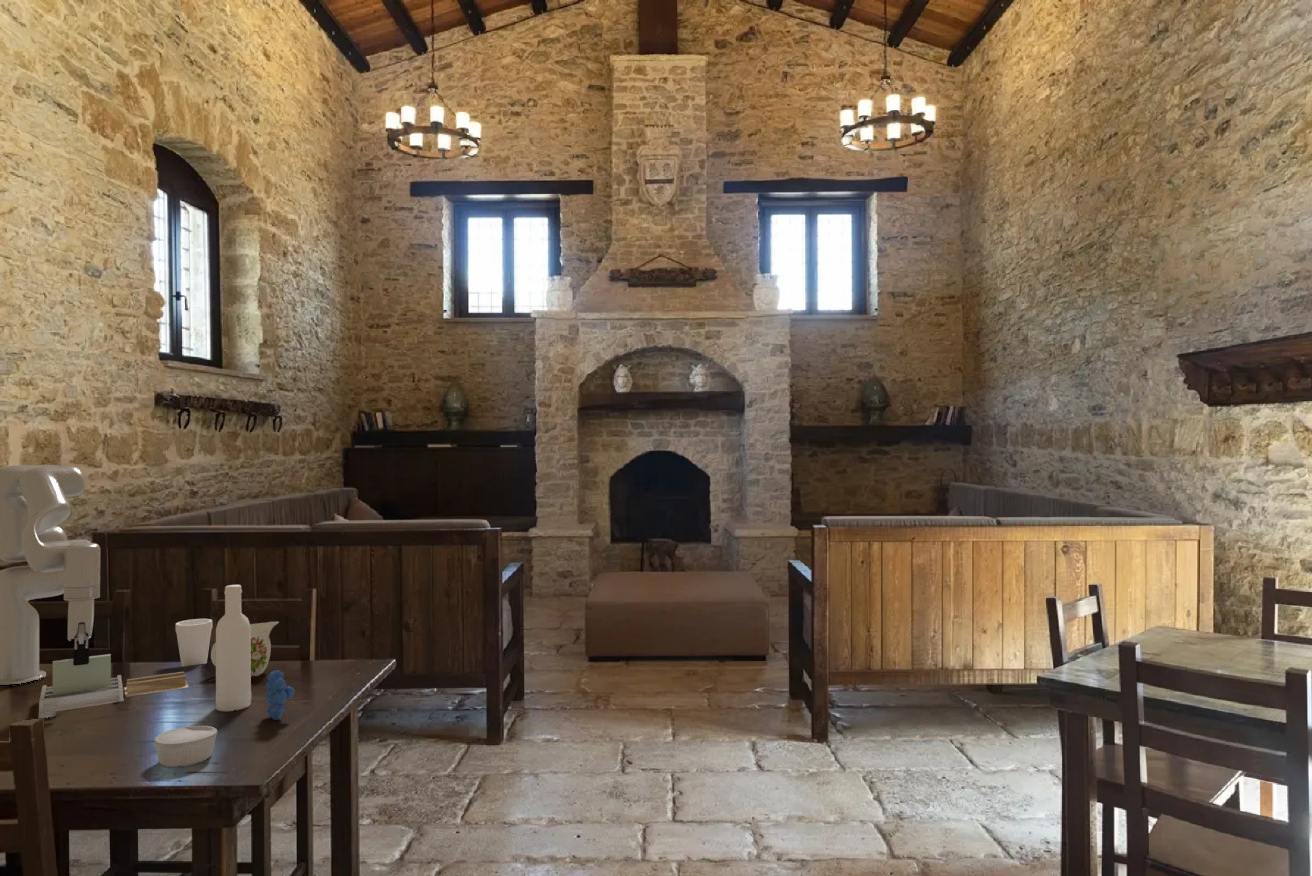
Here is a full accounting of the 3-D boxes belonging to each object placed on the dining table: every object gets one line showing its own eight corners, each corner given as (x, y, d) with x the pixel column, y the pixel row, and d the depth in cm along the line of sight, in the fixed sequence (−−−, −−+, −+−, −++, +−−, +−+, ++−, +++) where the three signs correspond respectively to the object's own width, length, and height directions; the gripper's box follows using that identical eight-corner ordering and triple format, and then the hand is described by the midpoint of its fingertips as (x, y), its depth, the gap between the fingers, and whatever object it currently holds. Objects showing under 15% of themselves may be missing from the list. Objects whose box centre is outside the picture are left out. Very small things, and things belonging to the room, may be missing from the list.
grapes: (301, 722, 193) (301, 671, 193) (269, 728, 189) (269, 676, 189) (290, 709, 202) (290, 660, 202) (260, 715, 198) (259, 665, 198)
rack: (42, 701, 211) (42, 685, 211) (121, 689, 220) (121, 674, 221) (38, 720, 196) (38, 703, 196) (123, 706, 206) (123, 690, 206)
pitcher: (205, 677, 231) (204, 628, 232) (271, 665, 244) (271, 618, 244) (217, 685, 224) (217, 634, 224) (285, 672, 236) (285, 624, 236)
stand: (124, 692, 217) (124, 677, 217) (185, 684, 225) (185, 669, 225) (125, 702, 209) (125, 686, 209) (188, 692, 217) (188, 677, 217)
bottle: (236, 712, 200) (235, 588, 201) (207, 710, 202) (207, 588, 202) (258, 702, 208) (257, 583, 209) (231, 700, 210) (230, 582, 210)
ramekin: (227, 749, 176) (227, 724, 176) (199, 769, 165) (199, 743, 165) (173, 750, 176) (173, 725, 176) (142, 770, 165) (142, 744, 165)
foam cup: (184, 672, 238) (184, 626, 238) (170, 667, 243) (170, 622, 243) (218, 665, 245) (218, 621, 245) (203, 660, 251) (203, 617, 251)
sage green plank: (52, 701, 206) (52, 661, 206) (110, 692, 213) (110, 653, 213) (52, 703, 204) (52, 662, 204) (110, 694, 211) (110, 655, 211)
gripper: (64, 588, 214) (63, 654, 214) (62, 599, 199) (62, 670, 199) (99, 585, 218) (98, 650, 218) (100, 596, 204) (99, 666, 204)
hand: (81, 659), depth 209 cm, fingers open, 9 cm apart
